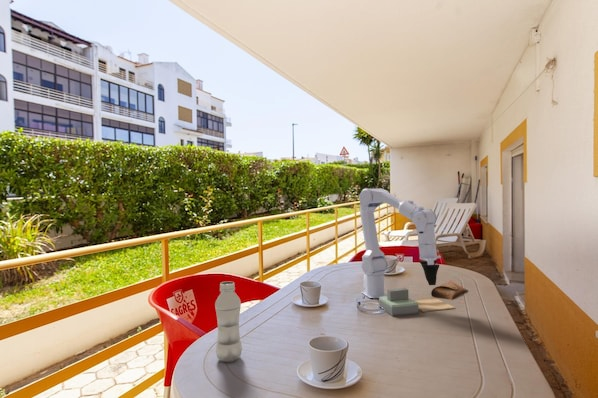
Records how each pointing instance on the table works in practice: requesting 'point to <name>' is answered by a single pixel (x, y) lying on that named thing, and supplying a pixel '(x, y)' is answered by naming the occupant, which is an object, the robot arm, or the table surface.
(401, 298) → the lid
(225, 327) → the plastic bottle
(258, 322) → the table surface
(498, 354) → the table surface
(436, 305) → the cork mat
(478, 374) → the table surface
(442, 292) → the sunglasses case
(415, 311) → the storage box
